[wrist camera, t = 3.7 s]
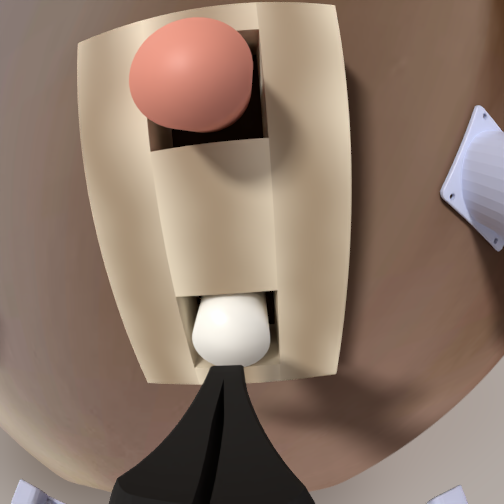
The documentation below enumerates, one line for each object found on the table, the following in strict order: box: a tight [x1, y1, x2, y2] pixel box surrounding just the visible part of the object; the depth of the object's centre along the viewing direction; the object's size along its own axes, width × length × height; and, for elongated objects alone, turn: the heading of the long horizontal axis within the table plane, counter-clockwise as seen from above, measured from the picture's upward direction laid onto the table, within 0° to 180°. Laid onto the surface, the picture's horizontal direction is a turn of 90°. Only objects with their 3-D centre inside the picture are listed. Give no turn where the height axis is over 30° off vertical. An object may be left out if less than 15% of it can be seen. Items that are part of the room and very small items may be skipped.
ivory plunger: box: [192, 291, 270, 367], centre depth 16 cm, size 4×4×4 cm
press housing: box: [77, 2, 351, 384], centre depth 14 cm, size 12×20×4 cm, turn 5°
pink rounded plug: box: [129, 17, 253, 133], centre depth 9 cm, size 4×4×4 cm
